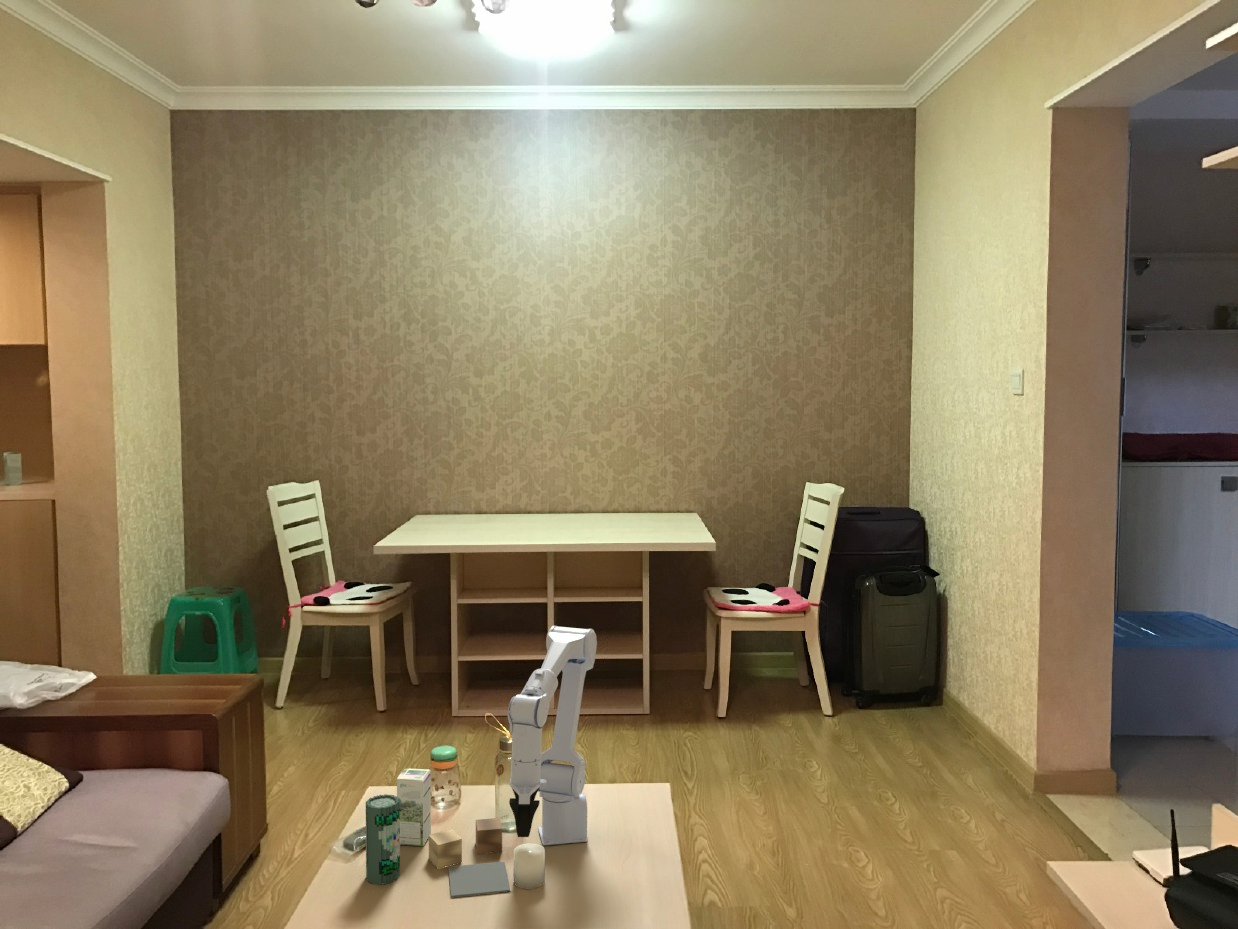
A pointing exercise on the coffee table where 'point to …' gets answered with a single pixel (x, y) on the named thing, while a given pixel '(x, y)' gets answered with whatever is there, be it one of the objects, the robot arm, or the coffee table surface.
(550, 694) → the robot arm
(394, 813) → the can
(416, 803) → the syrup box
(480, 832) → the walnut block
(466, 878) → the rubber mat
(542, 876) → the white pillar candle
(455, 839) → the oak block
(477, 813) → the coffee table surface
